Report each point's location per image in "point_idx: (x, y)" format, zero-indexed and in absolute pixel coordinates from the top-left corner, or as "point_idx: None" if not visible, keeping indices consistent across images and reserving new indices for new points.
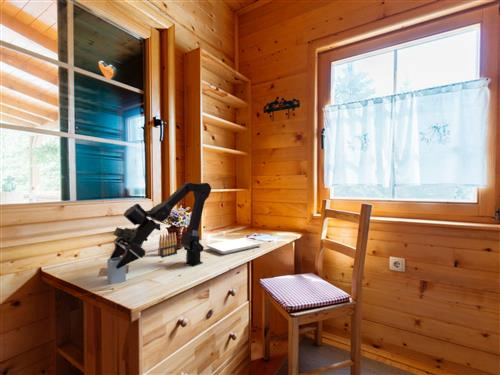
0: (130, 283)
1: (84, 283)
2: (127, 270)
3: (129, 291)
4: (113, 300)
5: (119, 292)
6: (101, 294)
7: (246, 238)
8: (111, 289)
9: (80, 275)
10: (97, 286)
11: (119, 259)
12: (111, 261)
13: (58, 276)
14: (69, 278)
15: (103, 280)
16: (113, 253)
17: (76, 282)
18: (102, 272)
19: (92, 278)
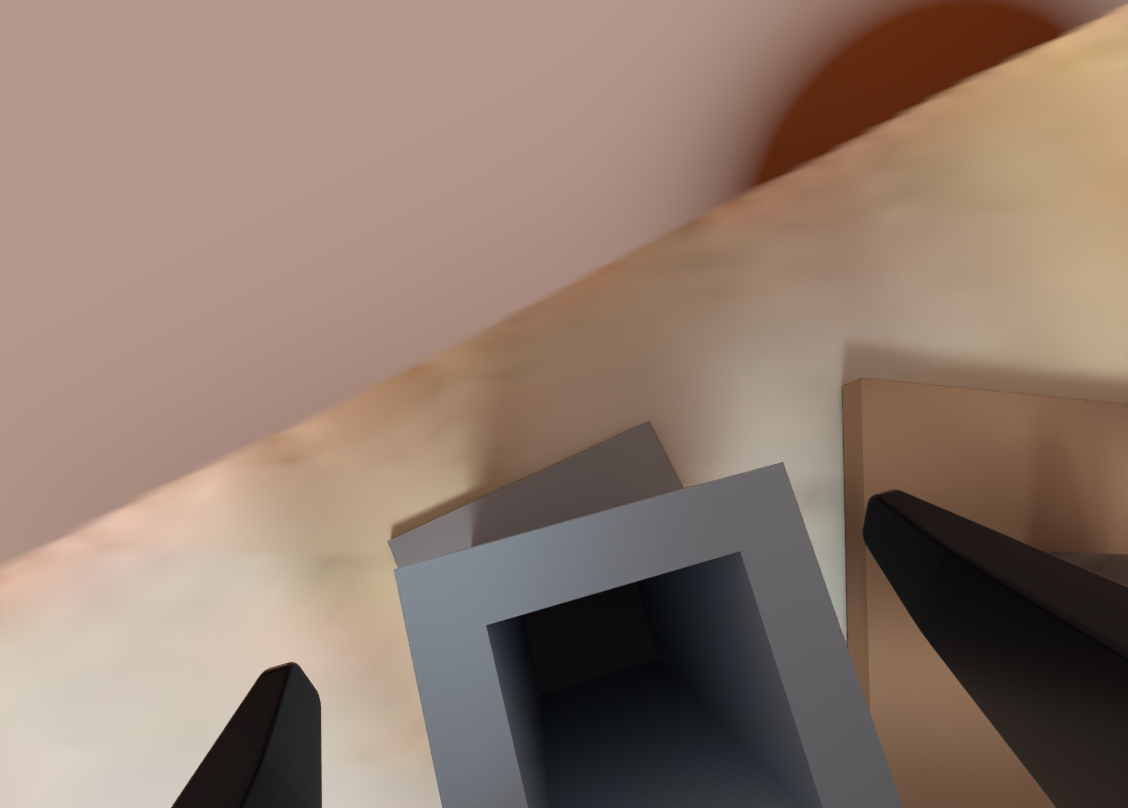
0: None
1: (762, 260)
2: (1015, 801)
3: (189, 774)
4: (17, 564)
5: (234, 641)
6: (298, 436)
7: None
8: (393, 546)
9: (1064, 211)
10: (591, 391)
11: (797, 793)
12: (466, 568)
13: (1096, 25)
14: (994, 118)
15: (779, 455)
16: (1112, 652)
17: (831, 186)
18: (1032, 436)
19: (906, 333)
